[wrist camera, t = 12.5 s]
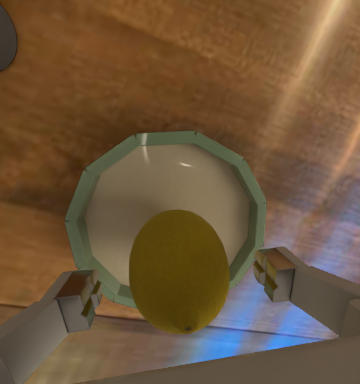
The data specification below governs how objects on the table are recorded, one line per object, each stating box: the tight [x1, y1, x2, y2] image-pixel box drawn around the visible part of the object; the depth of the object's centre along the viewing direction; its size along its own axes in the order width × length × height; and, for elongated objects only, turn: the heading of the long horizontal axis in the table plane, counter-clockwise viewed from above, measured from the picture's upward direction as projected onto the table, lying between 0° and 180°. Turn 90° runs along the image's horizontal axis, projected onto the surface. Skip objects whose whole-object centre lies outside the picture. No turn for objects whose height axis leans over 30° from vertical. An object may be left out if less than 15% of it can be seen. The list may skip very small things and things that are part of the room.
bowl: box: [65, 130, 267, 309], centre depth 16 cm, size 15×15×6 cm
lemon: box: [129, 209, 230, 334], centre depth 10 cm, size 6×6×8 cm
